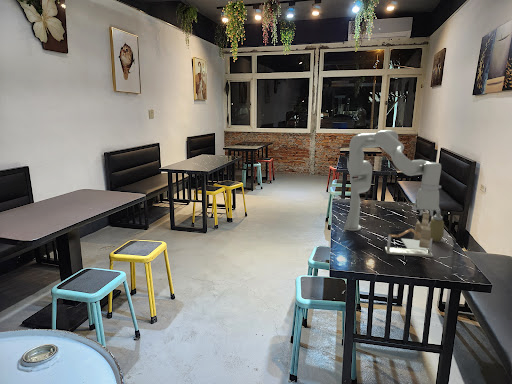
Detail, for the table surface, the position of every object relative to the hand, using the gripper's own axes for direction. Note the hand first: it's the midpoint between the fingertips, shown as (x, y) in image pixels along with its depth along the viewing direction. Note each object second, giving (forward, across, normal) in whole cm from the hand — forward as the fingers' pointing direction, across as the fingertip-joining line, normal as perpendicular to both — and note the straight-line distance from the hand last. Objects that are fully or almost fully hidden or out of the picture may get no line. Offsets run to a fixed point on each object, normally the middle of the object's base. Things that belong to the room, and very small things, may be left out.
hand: (424, 222), depth 166 cm
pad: (+18, 0, -12) cm, 21 cm away
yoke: (+12, 0, 0) cm, 12 cm away
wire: (+18, +6, 0) cm, 18 cm away
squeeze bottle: (+18, -14, -22) cm, 31 cm away
